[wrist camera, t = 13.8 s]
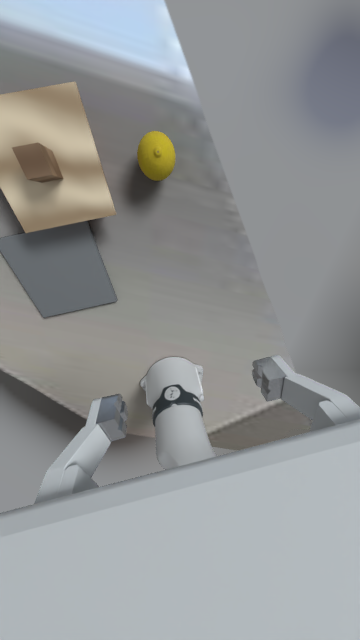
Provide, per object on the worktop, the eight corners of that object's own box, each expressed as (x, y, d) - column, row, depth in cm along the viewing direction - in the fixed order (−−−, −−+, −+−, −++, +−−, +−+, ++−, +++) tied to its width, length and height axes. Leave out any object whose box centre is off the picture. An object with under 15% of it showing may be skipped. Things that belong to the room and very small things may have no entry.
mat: (117, 299, 43) (116, 301, 42) (45, 315, 42) (43, 317, 42) (86, 220, 35) (85, 220, 34) (-4, 238, 34) (-8, 239, 33)
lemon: (135, 175, 33) (132, 168, 26) (142, 133, 30) (141, 113, 23) (167, 188, 34) (172, 184, 27) (175, 149, 32) (184, 133, 25)
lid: (116, 214, 31) (112, 215, 27) (27, 232, 30) (10, 236, 26) (76, 84, 23) (62, 59, 19) (-42, 105, 23) (-81, 84, 19)
